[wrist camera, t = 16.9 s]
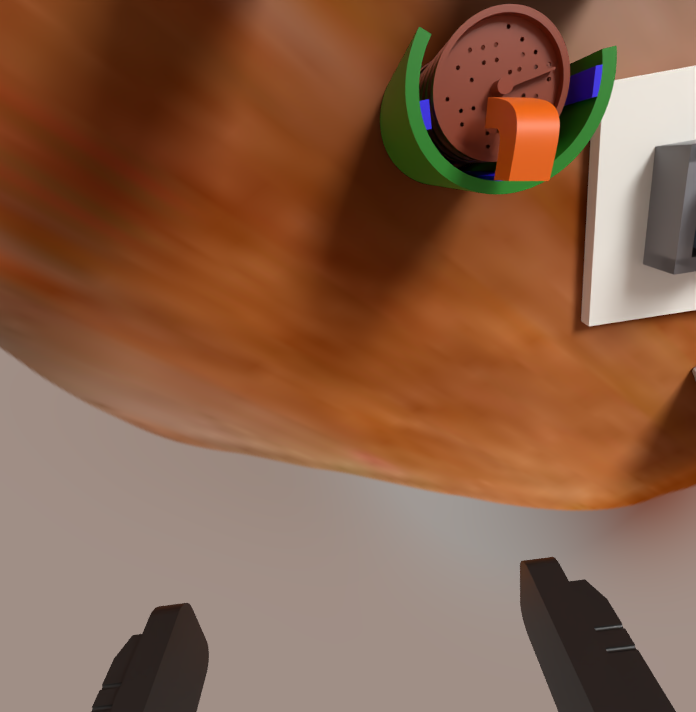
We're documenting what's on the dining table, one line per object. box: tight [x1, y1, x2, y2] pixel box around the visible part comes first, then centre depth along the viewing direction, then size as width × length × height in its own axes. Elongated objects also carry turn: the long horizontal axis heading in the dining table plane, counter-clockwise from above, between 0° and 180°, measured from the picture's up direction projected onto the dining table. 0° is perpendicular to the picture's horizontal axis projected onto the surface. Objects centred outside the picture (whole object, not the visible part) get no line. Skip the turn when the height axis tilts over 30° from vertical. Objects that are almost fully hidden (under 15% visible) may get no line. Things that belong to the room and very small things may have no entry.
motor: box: [380, 4, 617, 194], centre depth 27 cm, size 10×9×20 cm
